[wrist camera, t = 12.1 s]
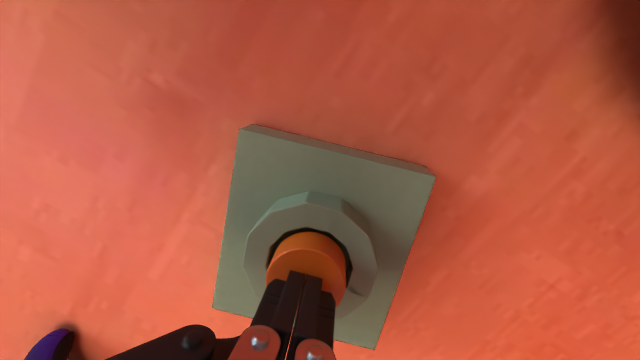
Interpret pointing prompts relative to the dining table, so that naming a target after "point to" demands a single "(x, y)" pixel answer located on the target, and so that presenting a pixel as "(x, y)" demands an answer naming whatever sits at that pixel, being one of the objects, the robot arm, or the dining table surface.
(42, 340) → the gaming controller
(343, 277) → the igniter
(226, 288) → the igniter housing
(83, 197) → the dining table surface
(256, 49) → the dining table surface
